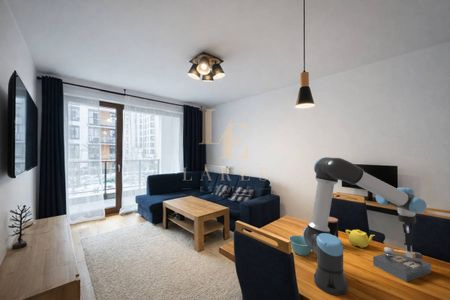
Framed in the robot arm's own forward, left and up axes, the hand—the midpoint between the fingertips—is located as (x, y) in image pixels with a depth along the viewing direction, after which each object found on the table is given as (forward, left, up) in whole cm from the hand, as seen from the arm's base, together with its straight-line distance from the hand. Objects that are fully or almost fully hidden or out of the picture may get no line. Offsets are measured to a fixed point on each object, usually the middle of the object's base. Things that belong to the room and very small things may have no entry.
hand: (409, 256), depth 110 cm
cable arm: (0, +3, 0) cm, 3 cm away
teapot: (+1, +30, -7) cm, 31 cm away
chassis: (-5, +2, -7) cm, 8 cm away
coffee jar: (-16, +40, -7) cm, 43 cm away
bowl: (-45, +37, -7) cm, 58 cm away
